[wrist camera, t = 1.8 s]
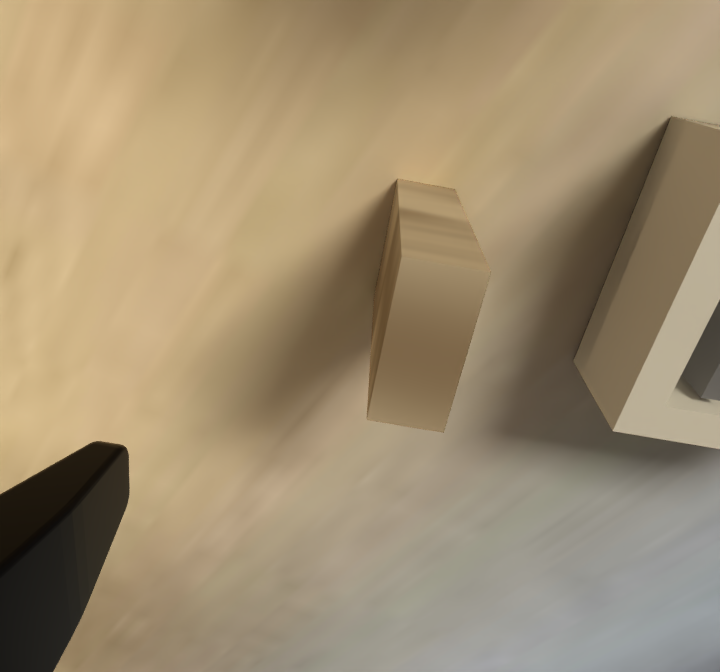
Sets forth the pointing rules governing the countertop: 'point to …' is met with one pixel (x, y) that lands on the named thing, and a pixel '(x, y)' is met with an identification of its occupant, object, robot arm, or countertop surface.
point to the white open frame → (664, 301)
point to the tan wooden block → (424, 307)
